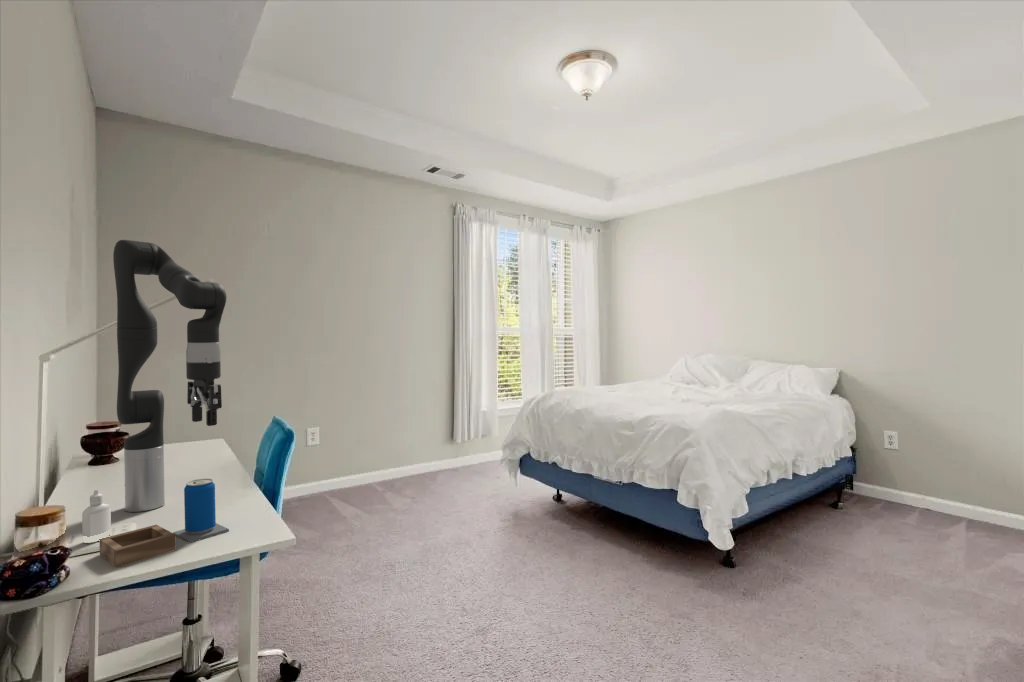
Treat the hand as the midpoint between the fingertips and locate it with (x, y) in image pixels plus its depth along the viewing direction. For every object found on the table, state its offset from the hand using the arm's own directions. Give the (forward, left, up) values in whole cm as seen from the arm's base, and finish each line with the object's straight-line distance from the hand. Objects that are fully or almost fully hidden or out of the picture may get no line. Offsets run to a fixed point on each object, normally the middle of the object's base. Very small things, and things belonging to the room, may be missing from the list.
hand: (204, 423), depth 133 cm
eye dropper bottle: (-11, -20, -26) cm, 35 cm away
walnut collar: (+6, -17, -26) cm, 32 cm away
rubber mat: (+5, -3, -26) cm, 27 cm away
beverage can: (+5, -3, -26) cm, 26 cm away
